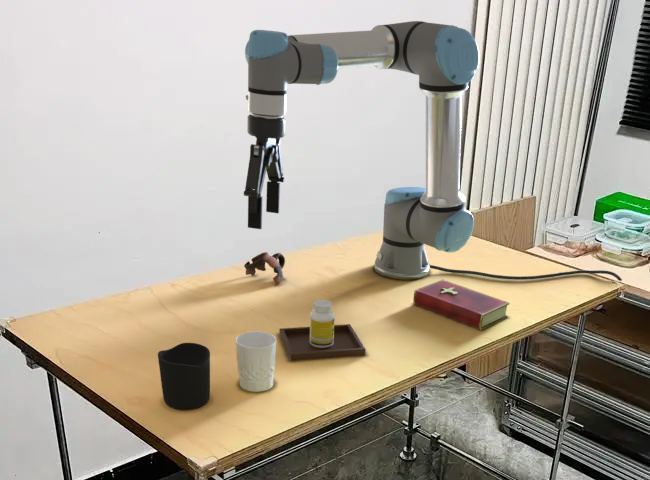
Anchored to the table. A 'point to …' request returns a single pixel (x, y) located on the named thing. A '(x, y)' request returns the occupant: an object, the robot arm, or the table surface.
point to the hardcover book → (461, 304)
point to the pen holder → (185, 376)
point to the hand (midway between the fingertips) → (264, 220)
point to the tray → (303, 350)
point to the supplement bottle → (322, 324)
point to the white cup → (256, 360)
